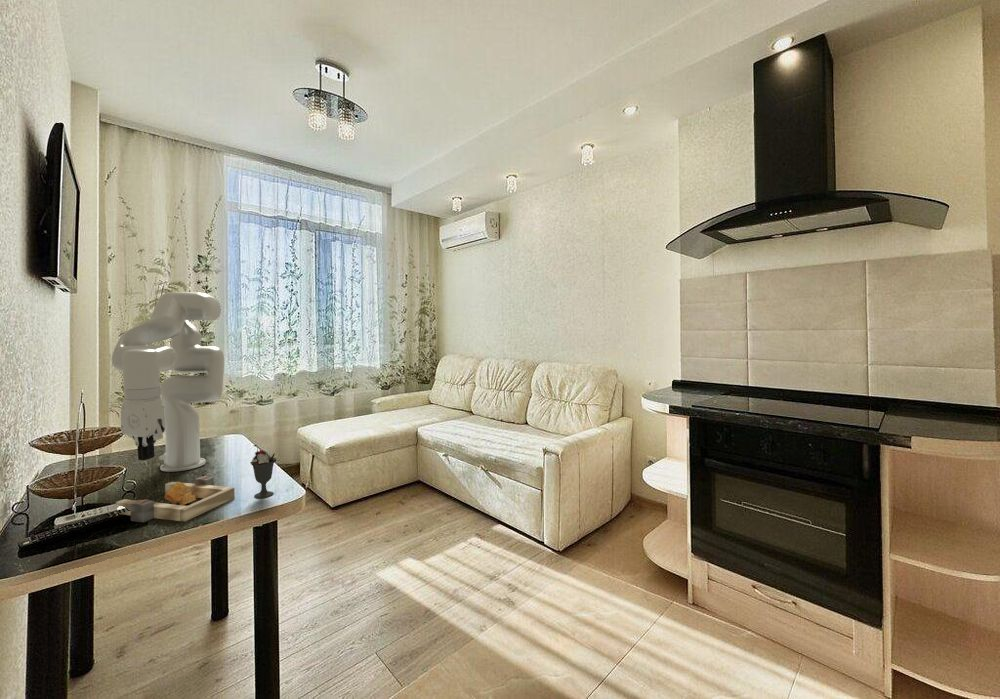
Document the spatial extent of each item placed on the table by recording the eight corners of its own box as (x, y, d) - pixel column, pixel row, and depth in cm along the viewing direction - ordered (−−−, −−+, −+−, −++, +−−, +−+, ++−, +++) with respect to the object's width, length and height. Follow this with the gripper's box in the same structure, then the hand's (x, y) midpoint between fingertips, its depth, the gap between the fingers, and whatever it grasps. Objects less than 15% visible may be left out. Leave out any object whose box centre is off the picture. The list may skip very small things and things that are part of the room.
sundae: (245, 496, 120) (244, 444, 119) (269, 489, 125) (268, 439, 125) (257, 501, 116) (256, 448, 115) (281, 494, 122) (280, 443, 121)
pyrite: (196, 498, 118) (183, 511, 115) (175, 484, 116) (162, 497, 113) (201, 494, 115) (188, 507, 112) (180, 479, 113) (166, 492, 110)
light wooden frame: (105, 517, 105) (104, 500, 105) (180, 488, 125) (179, 473, 125) (175, 526, 101) (175, 507, 101) (241, 494, 121) (241, 479, 121)
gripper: (105, 394, 112) (110, 460, 114) (151, 398, 109) (154, 466, 111) (135, 389, 119) (138, 451, 121) (178, 393, 116) (181, 456, 118)
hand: (146, 458), depth 116 cm, fingers closed
